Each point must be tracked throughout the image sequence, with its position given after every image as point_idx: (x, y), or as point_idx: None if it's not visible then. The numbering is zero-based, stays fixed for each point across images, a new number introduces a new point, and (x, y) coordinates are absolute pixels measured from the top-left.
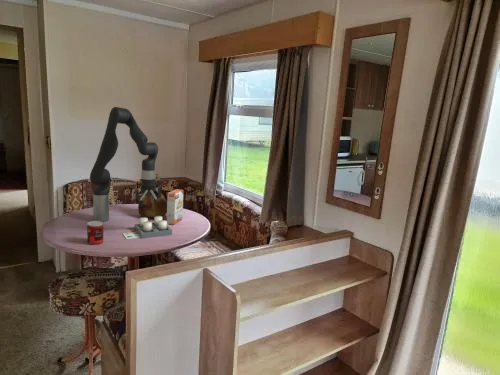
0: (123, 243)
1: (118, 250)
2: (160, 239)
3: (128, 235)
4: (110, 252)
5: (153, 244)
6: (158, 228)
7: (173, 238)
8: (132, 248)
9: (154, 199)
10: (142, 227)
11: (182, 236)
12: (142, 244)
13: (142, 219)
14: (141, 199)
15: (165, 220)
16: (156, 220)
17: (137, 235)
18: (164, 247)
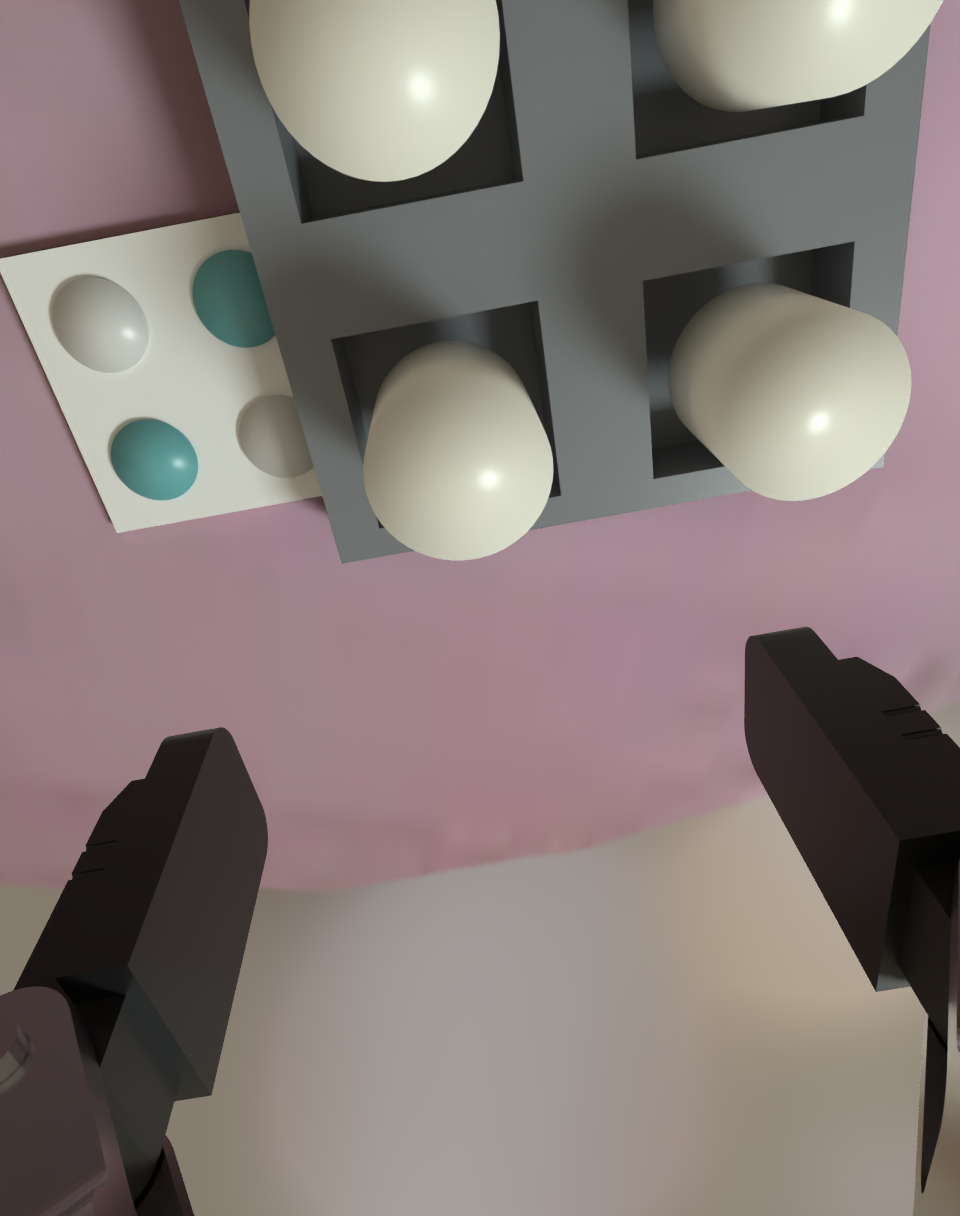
0: (113, 673)
1: None
2: (614, 603)
3: (124, 397)
4: (27, 880)
5: (495, 745)
6: (684, 268)
7: (797, 591)
8: None
9: (888, 961)
10: (359, 213)
11: (952, 533)
12: (362, 731)
13: (342, 159)
14: (142, 1196)
15: (898, 350)
16: (727, 78)
17: (281, 434)
18: (601, 830)
